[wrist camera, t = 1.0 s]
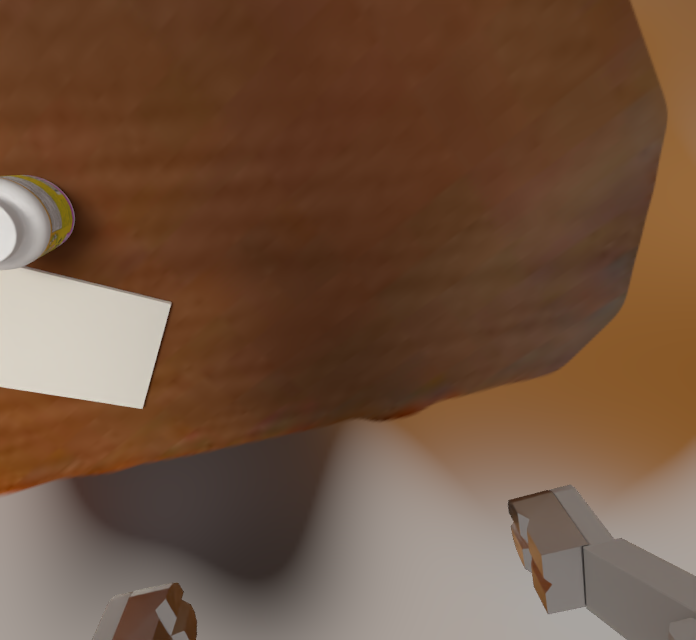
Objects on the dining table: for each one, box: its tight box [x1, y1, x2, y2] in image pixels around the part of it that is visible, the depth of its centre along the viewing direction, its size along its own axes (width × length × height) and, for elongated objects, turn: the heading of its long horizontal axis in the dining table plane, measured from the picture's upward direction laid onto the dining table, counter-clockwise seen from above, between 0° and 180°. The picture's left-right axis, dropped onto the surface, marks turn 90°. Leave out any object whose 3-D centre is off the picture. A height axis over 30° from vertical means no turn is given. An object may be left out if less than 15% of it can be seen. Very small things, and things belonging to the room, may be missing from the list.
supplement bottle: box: [0, 175, 75, 270], centre depth 35 cm, size 7×7×13 cm
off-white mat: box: [0, 266, 171, 409], centre depth 45 cm, size 16×12×1 cm
